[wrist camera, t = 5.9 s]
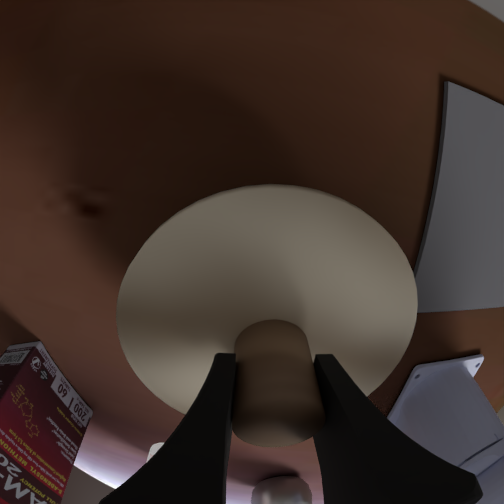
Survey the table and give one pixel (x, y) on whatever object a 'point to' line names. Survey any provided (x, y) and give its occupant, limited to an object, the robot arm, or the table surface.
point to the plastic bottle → (282, 491)
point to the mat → (465, 209)
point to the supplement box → (37, 426)
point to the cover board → (266, 304)
